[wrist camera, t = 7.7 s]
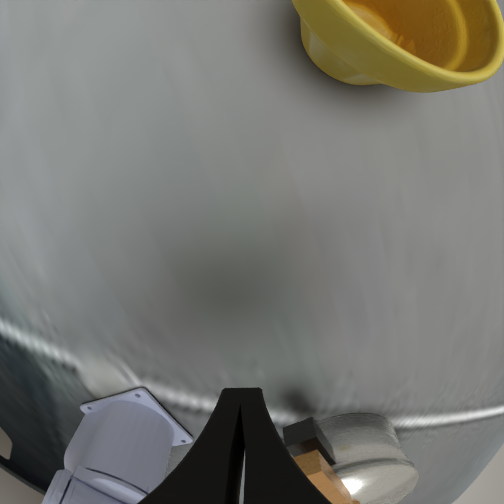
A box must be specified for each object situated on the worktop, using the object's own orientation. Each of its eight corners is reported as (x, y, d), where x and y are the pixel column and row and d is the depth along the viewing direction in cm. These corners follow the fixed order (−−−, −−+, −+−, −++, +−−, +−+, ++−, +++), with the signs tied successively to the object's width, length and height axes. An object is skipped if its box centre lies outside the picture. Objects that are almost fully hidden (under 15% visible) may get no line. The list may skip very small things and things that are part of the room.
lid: (417, 487, 21) (425, 505, 18) (299, 529, 22) (302, 548, 20) (400, 397, 15) (418, 429, 13) (204, 465, 17) (199, 497, 14)
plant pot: (440, 78, 15) (533, 50, 6) (339, 142, 17) (423, 126, 8) (355, -28, 13) (403, -101, 3) (241, 20, 15) (234, -77, 5)
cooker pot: (402, 460, 27) (416, 493, 21) (305, 497, 29) (309, 531, 23) (370, 357, 22) (397, 406, 16) (219, 417, 23) (214, 470, 18)
